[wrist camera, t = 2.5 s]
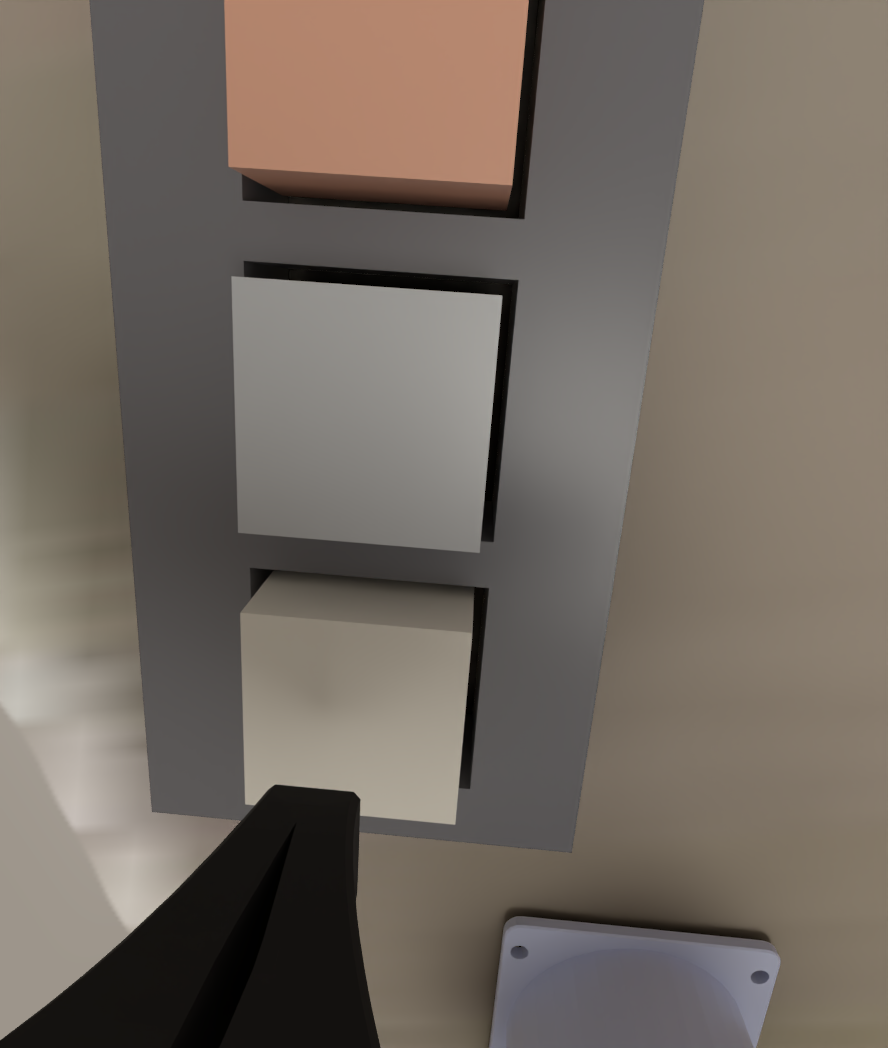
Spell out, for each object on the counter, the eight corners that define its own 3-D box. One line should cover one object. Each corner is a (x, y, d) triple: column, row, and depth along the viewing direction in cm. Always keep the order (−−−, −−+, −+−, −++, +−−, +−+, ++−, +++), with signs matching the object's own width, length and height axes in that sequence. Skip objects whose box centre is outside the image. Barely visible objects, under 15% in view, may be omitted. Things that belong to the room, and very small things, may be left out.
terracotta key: (506, 210, 13) (512, 184, 10) (282, 196, 14) (229, 167, 11) (531, -65, 12) (544, -179, 9) (281, -77, 12) (219, -195, 9)
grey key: (480, 506, 15) (479, 552, 12) (283, 489, 15) (238, 532, 12) (499, 297, 14) (502, 295, 11) (282, 281, 14) (231, 276, 11)
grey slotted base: (558, 770, 19) (571, 852, 16) (201, 736, 19) (152, 812, 16) (685, -133, 13) (744, -257, 10) (158, -159, 13) (66, -288, 10)
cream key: (460, 737, 17) (455, 825, 14) (284, 721, 17) (245, 804, 14) (474, 573, 16) (472, 633, 13) (284, 556, 16) (240, 612, 13)
